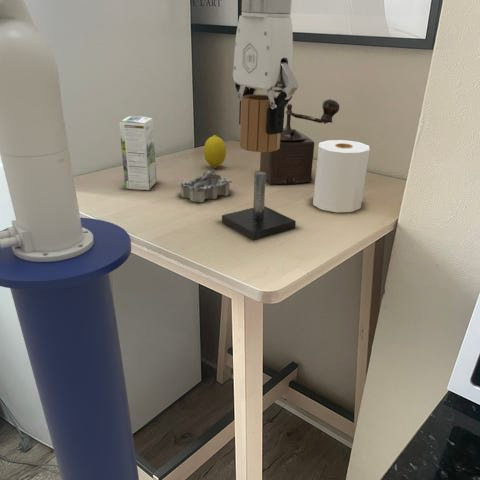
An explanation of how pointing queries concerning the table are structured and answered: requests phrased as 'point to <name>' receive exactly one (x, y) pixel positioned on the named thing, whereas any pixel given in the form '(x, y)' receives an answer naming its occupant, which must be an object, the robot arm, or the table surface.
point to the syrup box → (138, 152)
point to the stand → (258, 215)
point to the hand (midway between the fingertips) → (260, 128)
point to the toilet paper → (340, 175)
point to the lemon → (214, 151)
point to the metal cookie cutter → (205, 187)
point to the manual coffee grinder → (294, 150)
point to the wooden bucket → (256, 125)
